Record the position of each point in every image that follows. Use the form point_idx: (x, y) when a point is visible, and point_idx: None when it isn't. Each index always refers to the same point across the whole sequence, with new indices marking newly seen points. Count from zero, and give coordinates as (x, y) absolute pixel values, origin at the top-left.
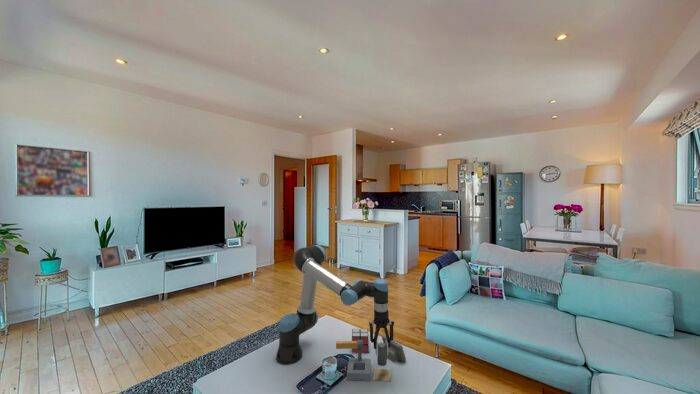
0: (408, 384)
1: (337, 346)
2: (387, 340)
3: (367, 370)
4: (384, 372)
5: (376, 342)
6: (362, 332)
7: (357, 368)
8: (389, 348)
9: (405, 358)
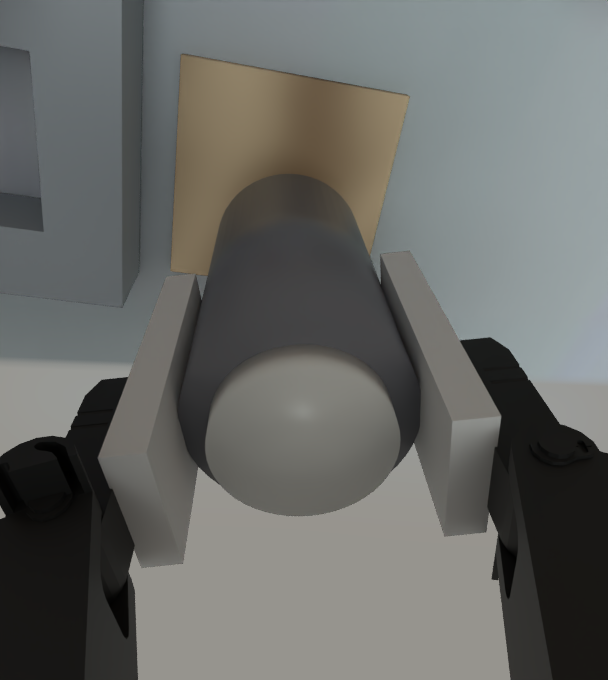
0: (511, 334)
1: None
2: (501, 525)
3: (83, 238)
4: (320, 155)
5: (130, 593)
6: None
7: None
8: None
9: None
